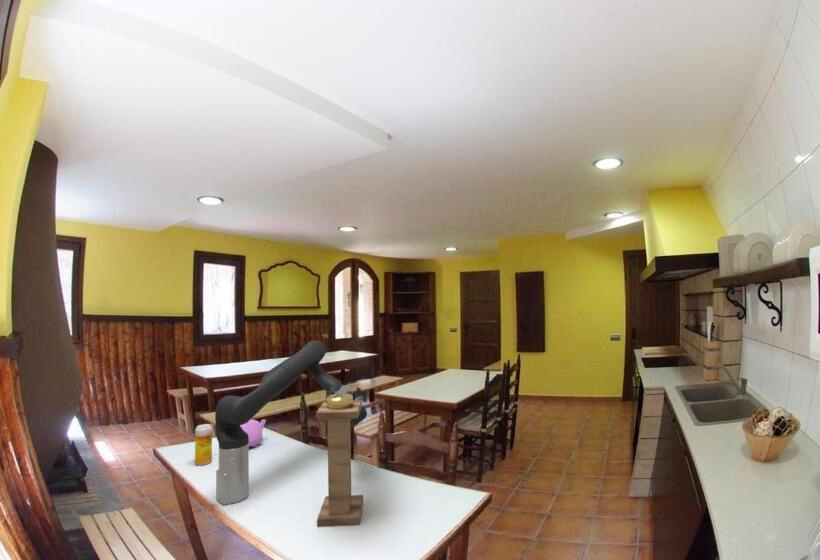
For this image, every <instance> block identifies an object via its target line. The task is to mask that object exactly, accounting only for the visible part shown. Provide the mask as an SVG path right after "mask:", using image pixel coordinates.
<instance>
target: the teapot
mask: <svg viewBox="0 0 820 560" xmlns="http://www.w3.org/2000/svg"><path fill="white" fill-rule="evenodd" d="M266 422H267V419H261V421H258V420H255V419H253V418H252V419H251V420H249V421H248V422H247V423H245V424H243V425H240V426H241V428H242V429H243V430H244V431H245V432H246V433H247V434H248V436H249V447H250V448H252V447H255V448H257V447H256V446H258V444H260V443H261V442H262V440H263V438H264V437H263V429H264V428H265V424H266Z"/></svg>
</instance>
